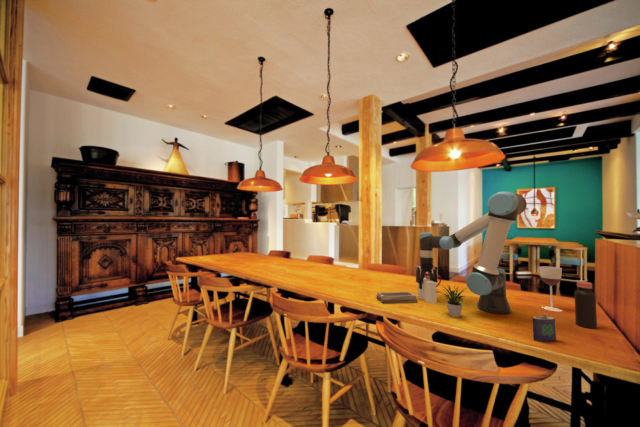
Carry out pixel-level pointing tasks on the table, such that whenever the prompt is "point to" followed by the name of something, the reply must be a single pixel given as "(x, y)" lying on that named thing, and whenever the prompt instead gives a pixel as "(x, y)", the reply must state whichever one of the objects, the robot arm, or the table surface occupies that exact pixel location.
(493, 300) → the robot arm
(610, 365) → the table surface
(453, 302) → the house plant
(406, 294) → the grey wooden tray
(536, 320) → the flask
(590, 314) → the bottle
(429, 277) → the mug
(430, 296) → the beige rectangular block
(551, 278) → the wineglass
